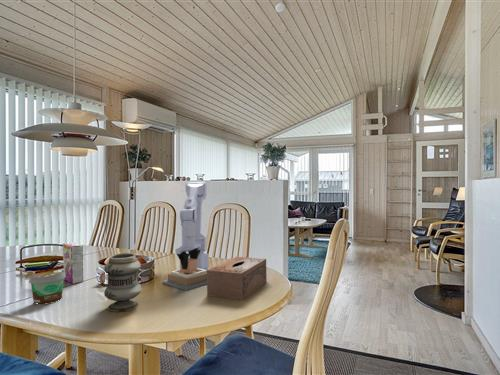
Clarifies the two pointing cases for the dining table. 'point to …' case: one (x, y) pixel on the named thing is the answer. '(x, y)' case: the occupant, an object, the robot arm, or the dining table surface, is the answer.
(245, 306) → the dining table surface
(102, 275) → the roller toy
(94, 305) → the dining table surface
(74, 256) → the candy bar box
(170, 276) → the build base
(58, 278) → the food container
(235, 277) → the tissue box cover
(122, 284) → the apothecary jar
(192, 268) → the terracotta cube
